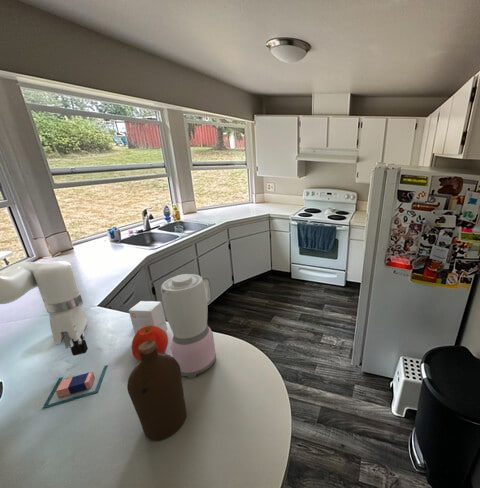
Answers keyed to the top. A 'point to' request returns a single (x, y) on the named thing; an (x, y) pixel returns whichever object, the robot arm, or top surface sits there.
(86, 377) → the eraser
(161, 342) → the apple
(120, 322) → the top surface
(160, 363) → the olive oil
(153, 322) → the small box
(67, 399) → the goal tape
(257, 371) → the top surface
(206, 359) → the blender
